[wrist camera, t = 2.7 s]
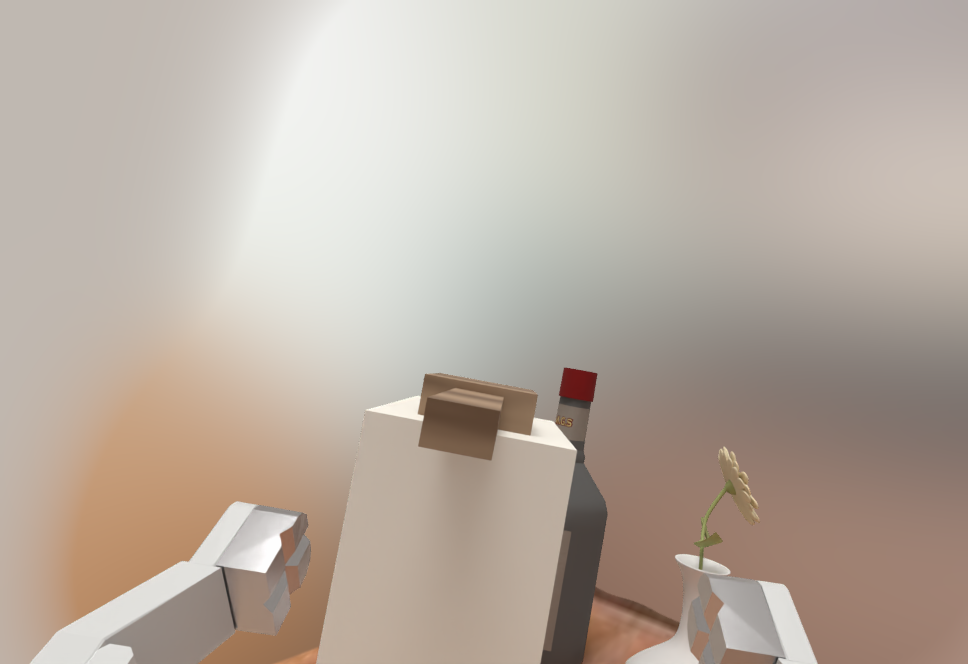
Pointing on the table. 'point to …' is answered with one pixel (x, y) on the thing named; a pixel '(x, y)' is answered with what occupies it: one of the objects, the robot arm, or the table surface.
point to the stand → (447, 547)
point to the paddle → (471, 414)
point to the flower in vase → (701, 567)
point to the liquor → (575, 532)
